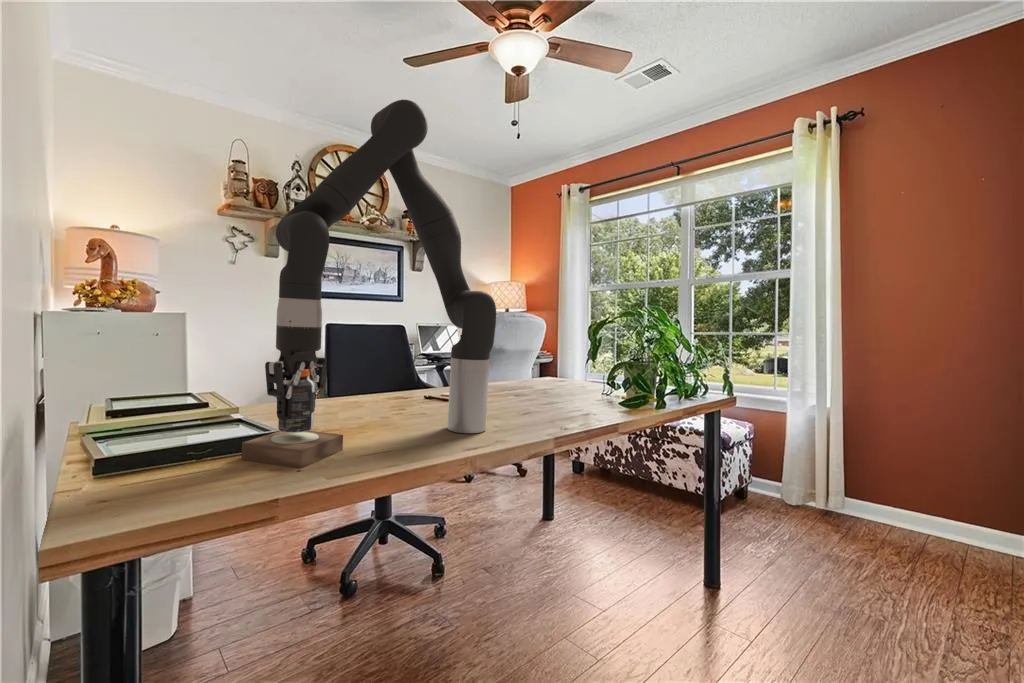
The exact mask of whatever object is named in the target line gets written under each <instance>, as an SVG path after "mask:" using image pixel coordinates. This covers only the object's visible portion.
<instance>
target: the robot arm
mask: <svg viewBox="0 0 1024 683" xmlns="http://www.w3.org/2000/svg"><path fill="white" fill-rule="evenodd" d="M428 124H429V122H428V119H427V116H426V114H425V111H424V110H423V108H422V107H421V106H420V105H419V104H417V102H414V101H412V100H409V99H399V100H395V101H393V102H391V103H389V104H388V105H386V106H385V107H382V109H380V110H379V111H377V112H376V113H375V114H374V115H373V117H372V118H371V123H370V132H371V136H370V137H369V138H368V139H367V140H366V141H365V142H364V143H363V144H362V145H361V146H360V147H359V148H358V149H356V150H355V151H354V152H352V154H350V155H349V156H348V157H346V158H345V159H344V160H343V161H342V162H340V163H339V164H338V165H336V167H335V168H334V169H333V170H332V171H331V172H330V173H328V175H326V177H325V178H324V179H323V180H321V182H319V184H318V185H317V186H316V187H315V188H314V190H313V191H312V192H311V193H310V194H309V195H308V196H307V197H305V198H304V199H303V200H302V201H300V202H299V203H298V204H297V205H295V206H294V207H293V208H292V209H291V210H289V211H288V212H287V213H286V214H285V215H284V216H283V217H282V218H281V219H280V220H279V222H278V224H277V226H276V229H275V238H276V239H275V240H276V241H277V244H278V245H279V247H281V248H282V250H284V251H286V252H287V259H286V260H287V261H286V263H285V266H283V267H282V269H281V270H280V273H279V278H278V279H279V280H278V281H279V285H278V287H279V288H278V302H277V308H276V327H275V328H276V330H275V348H276V350H278V351H280V352H279V353H280V354H279V358H278V360H276V361H266V363H264V364H265V365H264V370H265V381H266V392H267V396H272V397H274V398H276V416H277V419H278V420H279V419H282V420H288V419H290V418H291V399H290V398H291V395H292V392H293V388H294V387H296V386H297V385H298V382H299V379H300V376H301V373H302V372H303V371H304V369H309V370H310V376H309V378H310V380H312V381H313V382H314V384H315V395H314V396H315V397H314V412H315V408H316V395H317V393H318V392H319V390H320V389H323V388H324V387H325V379H326V372H327V365H328V364H327V363H328V360H327V357H318V356H317V353H316V352H318V351H320V350H321V349H322V330H323V329H322V325H323V310H322V309H323V308H322V284H323V283H322V277H323V272H324V270H325V266H326V261H327V258H328V253H329V248H330V232H329V231H330V230H329V228H330V227H332V225H334V224H336V223H337V222H340V221H341V220H343V219H344V218H345V217H346V216H348V214H349V213H350V212H351V211H352V210H353V209H354V208H355V207H356V206H357V204H358V203H359V202H360V201H361V200H362V199H363V198H364V196H366V194H367V193H368V192H369V191H370V190H371V189H372V187H373V186H374V185H375V184H376V183H377V182H378V181H379V180H380V178H381V177H382V176H383V175H384V174H385V173H386V172H387V171H389V173H390V175H391V177H392V178H393V181H394V183H395V184H396V186H397V190H398V192H399V193H400V196H401V199H402V201H403V203H404V205H405V208H406V210H407V213H408V215H409V217H410V221H411V222H412V225H413V227H414V230H415V232H416V234H417V238H418V240H419V242H420V244H421V246H422V249H423V250H424V252H425V255H426V258H427V261H428V263H429V265H430V268H431V271H432V272H433V275H434V277H435V280H436V282H437V285H438V289H439V291H440V295H441V299H442V302H443V305H444V308H445V311H446V314H447V316H448V318H449V320H450V322H451V324H453V325H454V326H455V327H456V328H459V329H461V334H460V339H459V341H458V342H457V343H455V344H453V345H452V346H451V348H450V350H451V352H450V353H451V354H450V369H449V370H450V372H449V374H450V375H449V389H448V390H449V391H448V393H449V394H448V410H447V411H448V412H447V430H448V431H451V432H454V433H457V434H458V433H459V434H479V433H483V432H485V431H486V429H487V414H488V394H489V393H488V391H489V375H490V374H489V373H490V355H491V352H492V349H493V348H494V347H493V346H494V343H495V334H496V326H497V325H496V324H497V306H496V302H495V300H494V298H493V296H492V295H491V294H489V293H488V292H486V291H481V290H472V291H471V289H470V286H469V285H468V282H467V280H466V277H465V275H464V272H463V268H462V260H461V259H462V254H461V253H462V238H461V237H462V235H461V231H460V228H459V226H458V223H457V221H456V217H455V215H454V212H453V209H452V207H451V206H450V204H449V203H448V200H446V199H445V197H444V195H442V194H441V192H440V191H439V190H438V189H437V188H436V187H435V186H434V184H432V183H431V181H430V180H429V179H428V178H427V177H426V175H425V174H424V172H423V170H422V168H421V167H420V166H421V165H420V164H419V161H418V159H417V156H416V154H415V150H414V149H415V148H417V147H419V146H420V145H421V144H422V143H423V142H424V140H425V139H426V137H427V134H428V130H429V125H428ZM285 379H288V380H290V381H288V380H285ZM275 385H276V386H275ZM284 385H287V389H286V391H284Z"/></svg>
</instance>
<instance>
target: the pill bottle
mask: <svg viewBox="0 0 1024 683" xmlns="http://www.w3.org/2000/svg"><path fill="white" fill-rule="evenodd" d="M309 376H310V370H309V369H304V371H303V372H302V373H301V376H300V379H299V382H298V385H297V386H296V387H294V388H293V392H292V395H291V398H290V399H291V418H290V419H288V420H282V419H278V430H279V431H282V432H287V433H298V432H305V431H312V430H313V429H314V426H315V423H314V422H315V419H314V418H315V411H314V397H315V398H316V395H315V384H314V382H313V381H312V380H310V378H309ZM285 380H288V379H286V378H285ZM288 381H290V380H288ZM286 389H287V385H284V391H286ZM314 395H315V396H314Z"/></svg>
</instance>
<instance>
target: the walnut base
mask: <svg viewBox="0 0 1024 683" xmlns="http://www.w3.org/2000/svg"><path fill="white" fill-rule="evenodd" d="M343 444H344V434H340V433H339V434H338V433H331V432H325V431H314V430H309V431H305V432H298V433H287V432H282V431H280V430H279V431H276V432H272V433H269V434H266V435H263V436H259V437H256V438H253V439H250V440H246V441H243V442H241V460H243V461H248V462H256V463H264V464H269V465H278V466H286V467H290V468H296V469H297V468H299V469H302V468H304V467H305V468H306V467H307V466H309V465H311V464H313V463H316V462H318V461H321V460H323V459H325V458H328V457H331V456H332V455H334V454H337V453H339V452H342V451H344V450H343V449H344V446H343Z"/></svg>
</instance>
